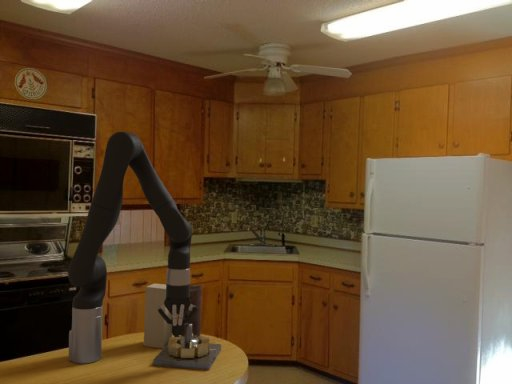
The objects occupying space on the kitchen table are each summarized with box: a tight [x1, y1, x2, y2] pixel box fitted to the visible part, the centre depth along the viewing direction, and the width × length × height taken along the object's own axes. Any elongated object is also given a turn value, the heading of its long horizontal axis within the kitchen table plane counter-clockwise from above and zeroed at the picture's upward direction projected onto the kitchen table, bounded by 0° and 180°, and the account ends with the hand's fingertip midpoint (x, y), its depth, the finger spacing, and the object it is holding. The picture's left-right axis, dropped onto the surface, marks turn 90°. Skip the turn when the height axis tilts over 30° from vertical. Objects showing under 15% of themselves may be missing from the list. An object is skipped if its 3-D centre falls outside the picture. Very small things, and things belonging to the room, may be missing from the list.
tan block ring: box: [168, 323, 211, 358], centre depth 156 cm, size 14×14×10 cm
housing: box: [153, 337, 222, 371], centre depth 156 cm, size 18×18×6 cm
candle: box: [181, 284, 203, 336], centre depth 172 cm, size 8×7×20 cm
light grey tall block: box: [143, 283, 173, 349], centre depth 168 cm, size 8×7×21 cm
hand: (176, 336), depth 149 cm, fingers closed
